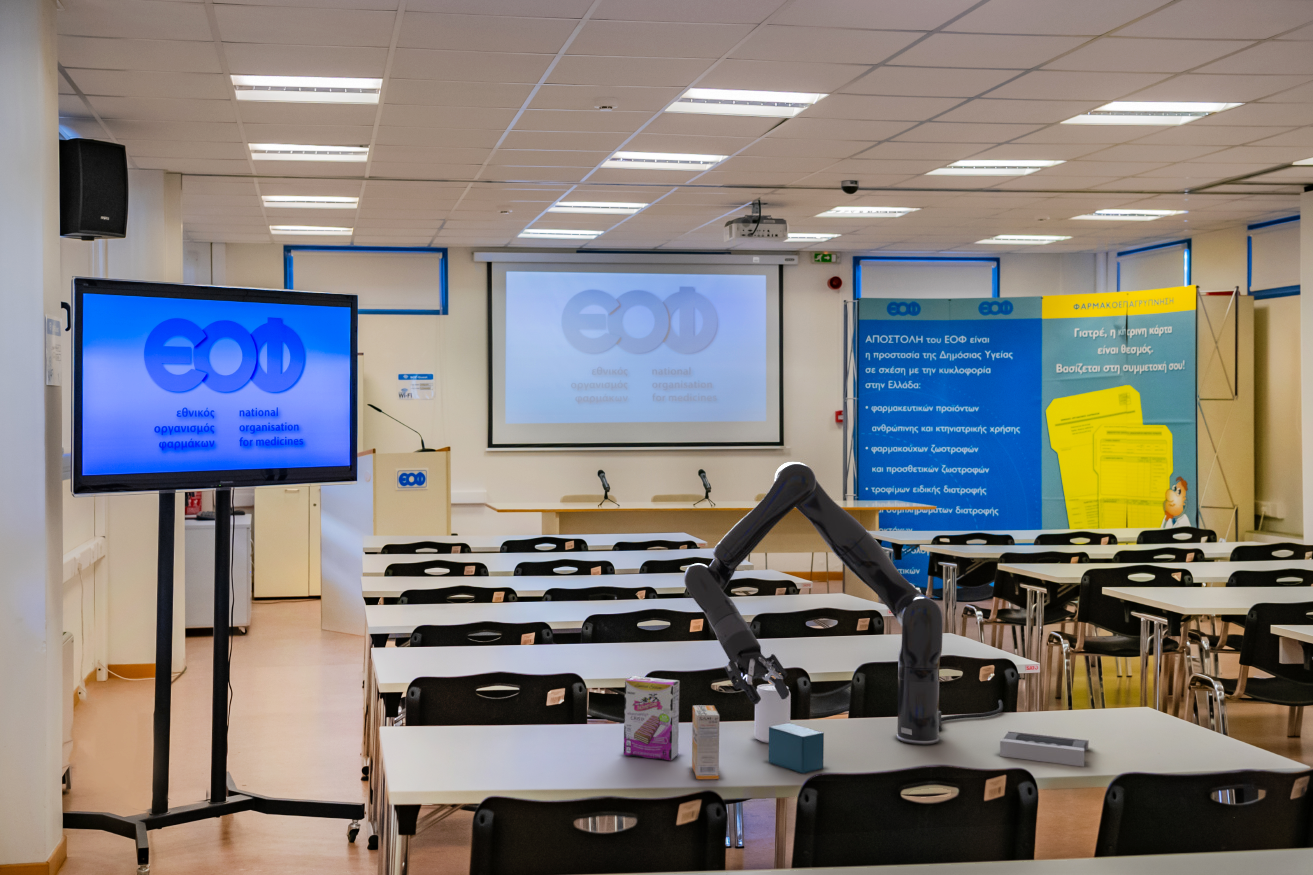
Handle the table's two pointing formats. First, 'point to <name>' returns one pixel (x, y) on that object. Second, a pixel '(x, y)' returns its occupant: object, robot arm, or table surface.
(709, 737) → the supplement box
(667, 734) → the candy bar box
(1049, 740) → the grey slotted tray
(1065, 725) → the table surface
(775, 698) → the beverage can
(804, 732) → the teal rectangular box
